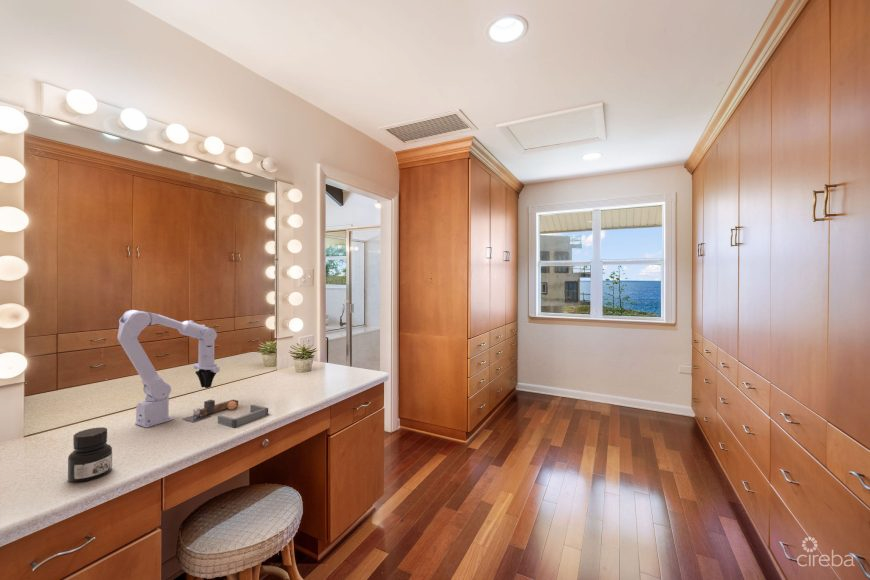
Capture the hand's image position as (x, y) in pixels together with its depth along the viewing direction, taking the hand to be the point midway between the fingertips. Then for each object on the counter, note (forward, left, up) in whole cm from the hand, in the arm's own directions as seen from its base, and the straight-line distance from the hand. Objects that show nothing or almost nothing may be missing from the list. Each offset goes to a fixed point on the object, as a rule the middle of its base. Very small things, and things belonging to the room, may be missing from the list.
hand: (206, 387), depth 152 cm
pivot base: (-8, -7, -9) cm, 14 cm away
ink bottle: (-47, -24, -10) cm, 54 cm away
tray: (0, -24, -9) cm, 26 cm away
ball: (+5, -10, -8) cm, 14 cm away
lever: (+1, -8, -9) cm, 12 cm away
